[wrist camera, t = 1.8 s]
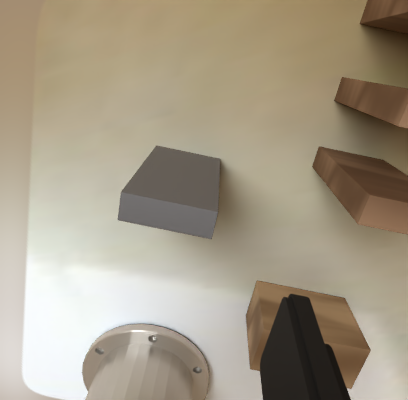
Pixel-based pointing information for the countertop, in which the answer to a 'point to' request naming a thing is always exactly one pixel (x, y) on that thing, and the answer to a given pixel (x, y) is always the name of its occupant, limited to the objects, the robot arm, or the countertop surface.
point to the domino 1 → (173, 193)
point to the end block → (327, 320)
